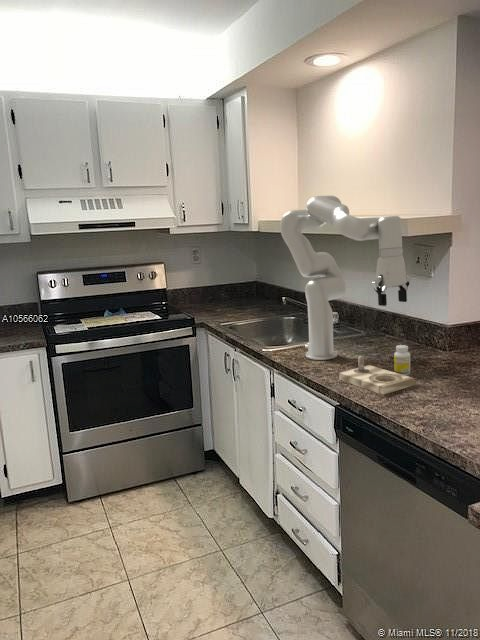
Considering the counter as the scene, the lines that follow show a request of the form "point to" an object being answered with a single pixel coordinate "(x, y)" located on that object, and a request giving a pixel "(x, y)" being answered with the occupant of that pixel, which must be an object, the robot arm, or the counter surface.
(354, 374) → the plate
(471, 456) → the counter surface
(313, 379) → the counter surface
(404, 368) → the supplement bottle
